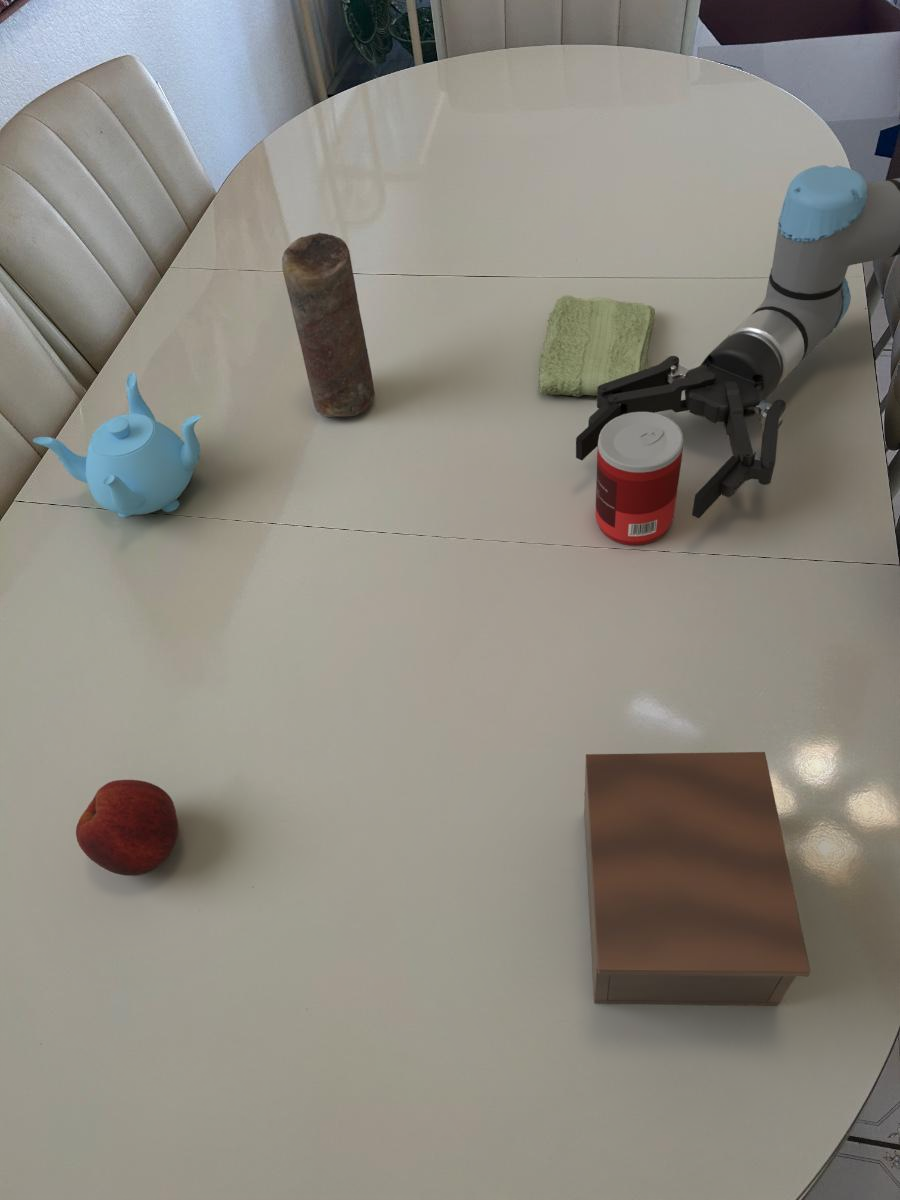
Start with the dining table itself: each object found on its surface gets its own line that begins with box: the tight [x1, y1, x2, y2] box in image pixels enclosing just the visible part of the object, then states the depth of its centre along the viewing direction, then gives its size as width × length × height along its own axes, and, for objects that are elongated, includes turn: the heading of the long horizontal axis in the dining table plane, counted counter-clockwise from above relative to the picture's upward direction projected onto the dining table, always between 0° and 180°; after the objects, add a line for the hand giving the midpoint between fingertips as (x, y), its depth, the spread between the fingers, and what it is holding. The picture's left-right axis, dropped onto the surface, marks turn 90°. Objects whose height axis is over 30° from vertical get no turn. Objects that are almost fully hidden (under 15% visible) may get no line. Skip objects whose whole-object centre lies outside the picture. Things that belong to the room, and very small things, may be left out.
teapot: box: [32, 372, 202, 518], centre depth 101 cm, size 13×13×10 cm
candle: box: [281, 232, 376, 418], centre depth 103 cm, size 8×7×20 cm
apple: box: [75, 779, 179, 877], centre depth 75 cm, size 7×8×8 cm
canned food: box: [595, 412, 684, 546], centre depth 91 cm, size 8×8×11 cm
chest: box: [583, 765, 796, 1007], centre depth 67 cm, size 15×13×9 cm
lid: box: [585, 751, 811, 978], centre depth 63 cm, size 16×13×1 cm
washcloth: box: [537, 294, 656, 398], centre depth 111 cm, size 13×18×3 cm
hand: (635, 477), depth 90 cm, fingers open, 13 cm apart
